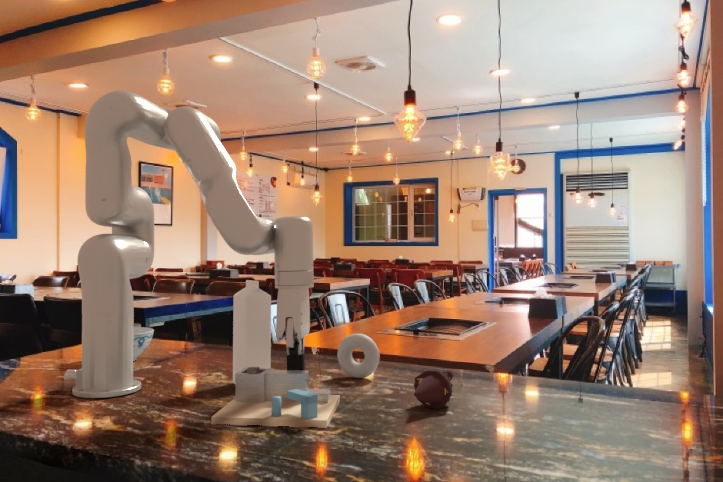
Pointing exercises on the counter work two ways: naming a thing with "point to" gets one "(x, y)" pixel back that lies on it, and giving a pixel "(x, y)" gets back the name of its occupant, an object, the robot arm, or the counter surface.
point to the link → (273, 385)
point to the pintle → (253, 370)
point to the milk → (251, 328)
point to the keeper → (304, 397)
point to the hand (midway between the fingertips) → (296, 374)
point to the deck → (262, 416)
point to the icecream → (433, 388)
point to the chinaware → (141, 340)
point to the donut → (369, 351)
